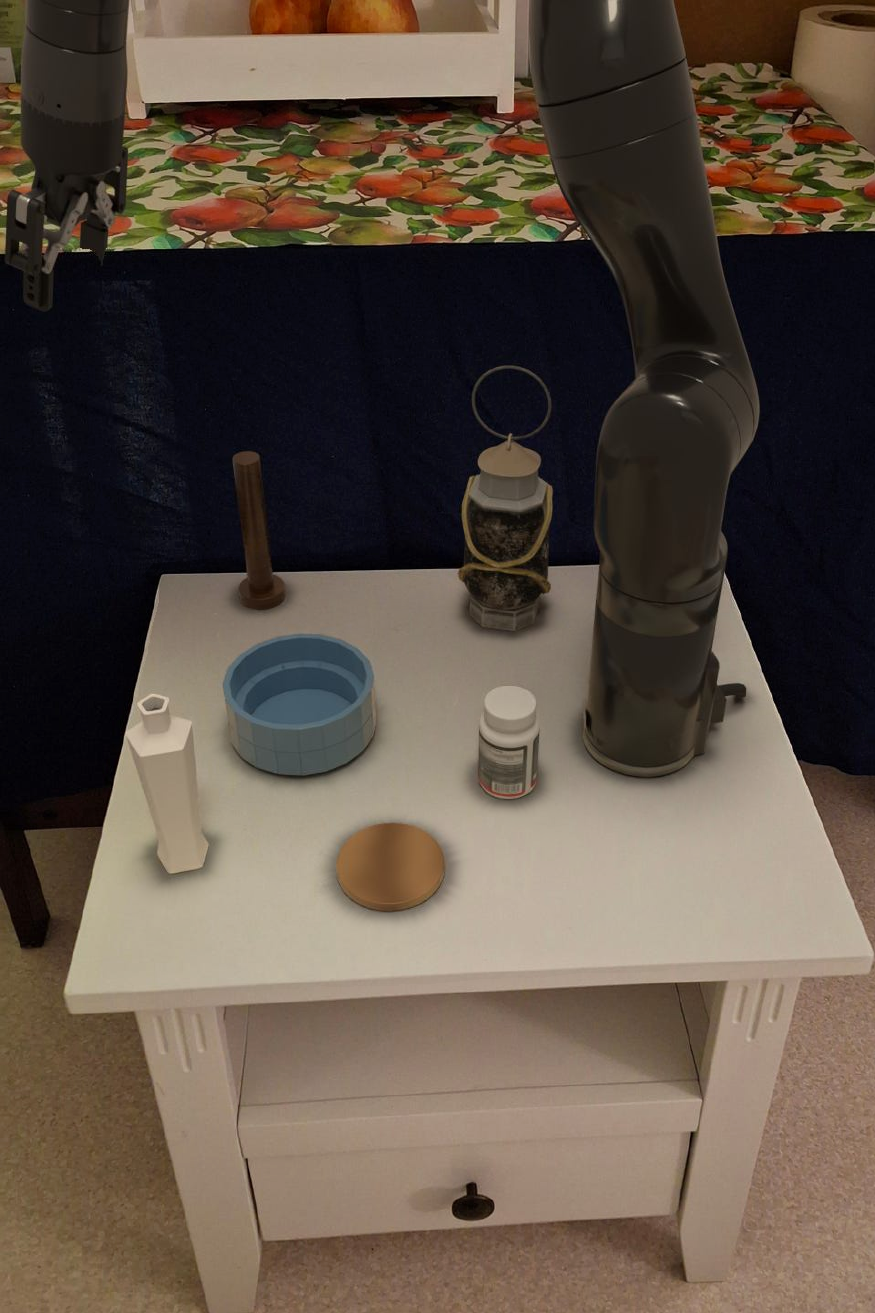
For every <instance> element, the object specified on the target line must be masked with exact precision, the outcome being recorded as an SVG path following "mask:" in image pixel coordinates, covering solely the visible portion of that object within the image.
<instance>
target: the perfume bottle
mask: <svg viewBox="0 0 875 1313" xmlns="http://www.w3.org/2000/svg"><path fill="white" fill-rule="evenodd" d="M169 703H170V698H169V697H167V696H164V695H161V694H157V693H151V694H148V695H147V696H145V697H144V698H143V699H142V698H141V700H140V701H138V702H137V703H136V706H137V707H138V709H139V710H140V715H141V719H142V720H141V721H139V723H137V724H135V725H134V726H132V727H131V728H130V729H128V730H126V731H125V733H124V734H125V738H126V740H127V744H128V748H129V750H130V753H131V756H132V760H133V763H134V765H135V769H136V772H137V775H138V778H139V781H140V784H141V787H142V788H141V789H142V790H143V794H144V797H145V801H146V803H147V807H148V809H149V812H150V816H151V819H152V822H153V825H154V829H155V832H156V834H157V838H158V844H157V845H158V846H157V851H156V855H157V857H158V859H159V860H160V862H161V864H162V865H163V867H164V868H165V870H166V872H167V873H168V874H177V873H183V872H188V871H192V870H199V869H201V868H203V866H204V864H205V860H206V856H207V853H208V851H209V850H208V849H209V847H210V844H209V842H208V840H207V838H206V837H205V835H204V834H203V831H202V824H201V813H200V800H199V790H198V787H199V786H198V777H197V765H196V754H195V752H196V751H195V742H194V740H195V739H194V730H193V729H194V728H193V721H192V720H189V719H186V718H183V717H179V716H175V715H172V714H171V713H170V707H169Z"/></svg>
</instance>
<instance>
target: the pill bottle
mask: <svg viewBox="0 0 875 1313" xmlns="http://www.w3.org/2000/svg"><path fill="white" fill-rule="evenodd" d="M540 731H541V725H540V721H539V718H538V716H537V699H536V697H535V696H534V694H533V693H532V692H530V690H527V689H526V688H523V687H520V686H516V685H502V686H497V687H495V688H493V689H492V690H490V691H488V693H487V694H486V695H485V697H484V701H483V712H482V713H481V715H480V718H479V721H478V762H477V764H478V765H477V766H478V769H477V779H478V783H479V784H480V786H481V788H482V789H483V790H484V791H485V792H486V793H487V794H489V795H490V796H493V797H495V798H498V799H502V800H513V799H519V798H521V797H524V796H526V795H527V794H529V793H530V792H532V791H533V789H534V788H535V786H536V784H537V782H538V780H537V779H538V767H539V751H540V750H539V749H540Z"/></svg>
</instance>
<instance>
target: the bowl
mask: <svg viewBox="0 0 875 1313" xmlns="http://www.w3.org/2000/svg"><path fill="white" fill-rule="evenodd" d="M375 689H376V688H375V674H374V671H373V667H372V665H371V661H370V660H369V659H368V657H367V656H366V655H365V654H364V653H363V652H362V651H361V650H360V649H359V647H356V646H355V645H353V644H351V643H349V642H347V641H346V640H343V639H341V638H337V637H333V636H329V635H326V634H322V633H302V632H300V633H293V634H286V635H279V636H275V637H272V638H270V639H269V638H268V639H267V640H264V641H260V642H258V643H256V644H254V645H253V646H251V647H249V648H247V649H246V650H245V651H243V652H241V653H240V654H239V655H237V657H236V658H235V659H234V660H233V661H232V663H231V664H230V665H229V666H228V667H227V669H226V673H225V675H224V678H223V681H222V690H223V697H224V704H225V708H226V710H225V711H226V716H227V722H228V729H229V736H230V742H231V745H232V746H233V747H234V749H235V750H236V752H237V754H238V755H239V756H240V757H241V759H243V760H244V761H246V762H247V763H248V764H251V765H252V766H254V767H255V768H256V769H260V770H262V771H263V770H264V771H267V772H270V773H273V774H277V775H283V776H284V775H285V776H309V775H315V774H320V773H326V772H329V771H331V770H334V769H336V768H338V767H341V766H343V765H346V764H348V763H349V762H350V761H352V760H353V759H354V758H356V757H357V756H358V755H359V754H361V753H362V752H363V751H364V750H365V749H366V747H367V746H368V745H369V743H370V742H371V740H372V739H373V737H374V735H375V731H376V730H375V729H376V724H377V707H376V690H375Z"/></svg>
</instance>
